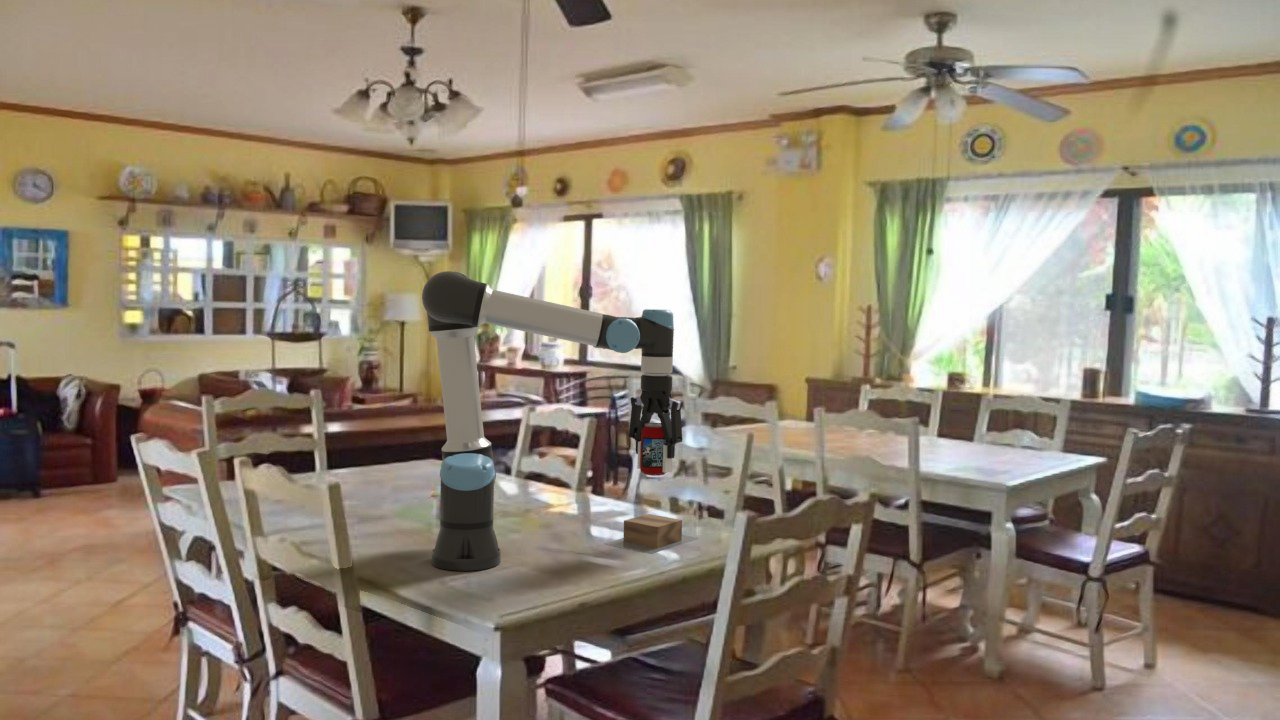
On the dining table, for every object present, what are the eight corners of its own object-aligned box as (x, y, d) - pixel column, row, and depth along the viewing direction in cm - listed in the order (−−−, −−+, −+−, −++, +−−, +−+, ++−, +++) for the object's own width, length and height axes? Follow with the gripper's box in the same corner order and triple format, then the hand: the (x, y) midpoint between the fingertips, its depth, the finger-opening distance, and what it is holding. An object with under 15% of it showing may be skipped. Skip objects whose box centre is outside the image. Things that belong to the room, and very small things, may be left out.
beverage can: (644, 476, 239) (645, 426, 238) (637, 471, 245) (638, 422, 244) (671, 476, 240) (673, 425, 240) (663, 471, 247) (664, 422, 246)
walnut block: (657, 548, 237) (657, 527, 236) (623, 541, 243) (623, 520, 242) (681, 540, 245) (682, 520, 244) (648, 533, 251) (648, 513, 250)
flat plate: (651, 558, 232) (651, 553, 232) (603, 548, 240) (603, 543, 240) (699, 543, 248) (699, 538, 248) (653, 533, 256) (653, 529, 256)
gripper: (699, 376, 238) (697, 473, 240) (633, 370, 250) (631, 463, 251) (681, 377, 232) (679, 477, 234) (614, 372, 244) (612, 466, 246)
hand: (654, 469), depth 243 cm, fingers closed on beverage can, 7 cm apart
